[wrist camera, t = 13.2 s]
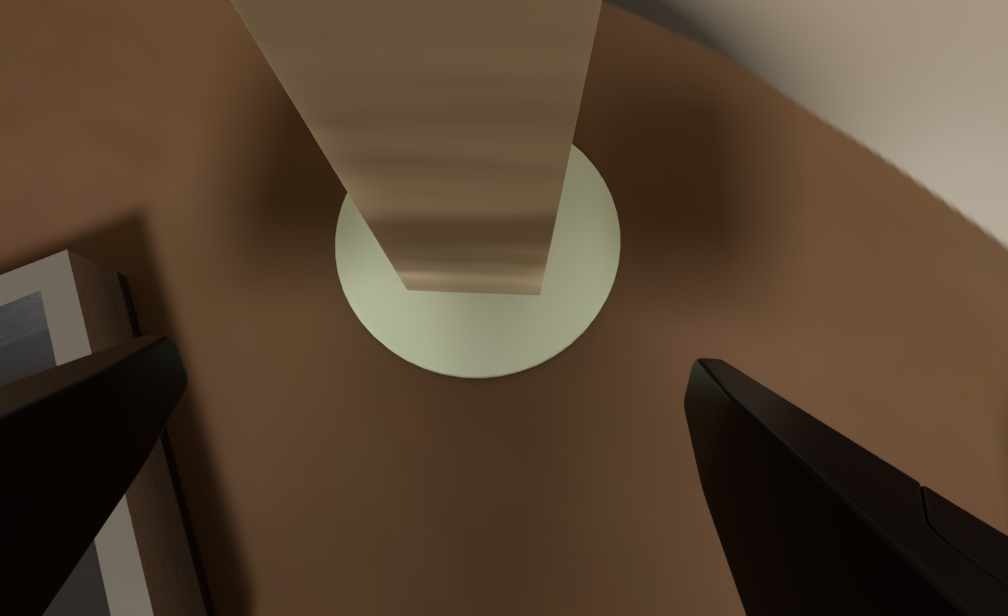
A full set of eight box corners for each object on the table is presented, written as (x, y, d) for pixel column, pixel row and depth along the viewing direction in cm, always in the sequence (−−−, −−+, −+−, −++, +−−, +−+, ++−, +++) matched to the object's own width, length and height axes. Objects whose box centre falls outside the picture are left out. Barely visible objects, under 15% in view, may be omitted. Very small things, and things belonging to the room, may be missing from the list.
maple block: (539, 295, 17) (607, -24, 6) (407, 290, 17) (210, -34, 6) (542, 177, 18) (603, -283, 7) (418, 172, 19) (275, -288, 7)
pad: (667, 305, 18) (673, 301, 17) (400, 428, 17) (396, 427, 16) (542, 86, 20) (544, 75, 20) (303, 180, 19) (297, 171, 19)
